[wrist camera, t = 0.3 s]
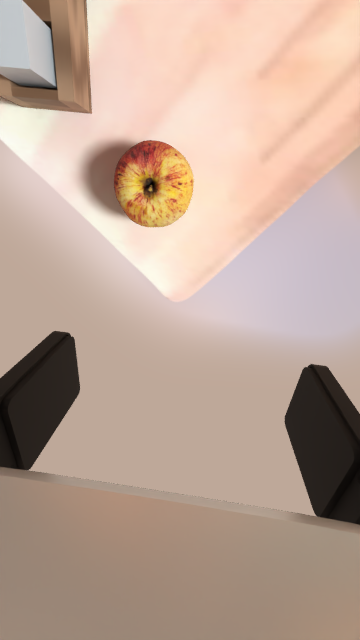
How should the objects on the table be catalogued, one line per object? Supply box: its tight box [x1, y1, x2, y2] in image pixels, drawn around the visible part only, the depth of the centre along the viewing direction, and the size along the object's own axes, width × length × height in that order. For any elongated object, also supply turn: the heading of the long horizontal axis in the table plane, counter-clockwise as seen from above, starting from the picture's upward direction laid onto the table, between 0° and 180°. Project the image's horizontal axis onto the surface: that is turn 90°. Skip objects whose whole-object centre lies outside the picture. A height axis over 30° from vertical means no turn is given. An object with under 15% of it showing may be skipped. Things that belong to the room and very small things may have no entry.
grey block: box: [0, 0, 58, 89], centre depth 25 cm, size 4×4×5 cm
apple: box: [114, 140, 194, 227], centre depth 30 cm, size 9×9×10 cm
